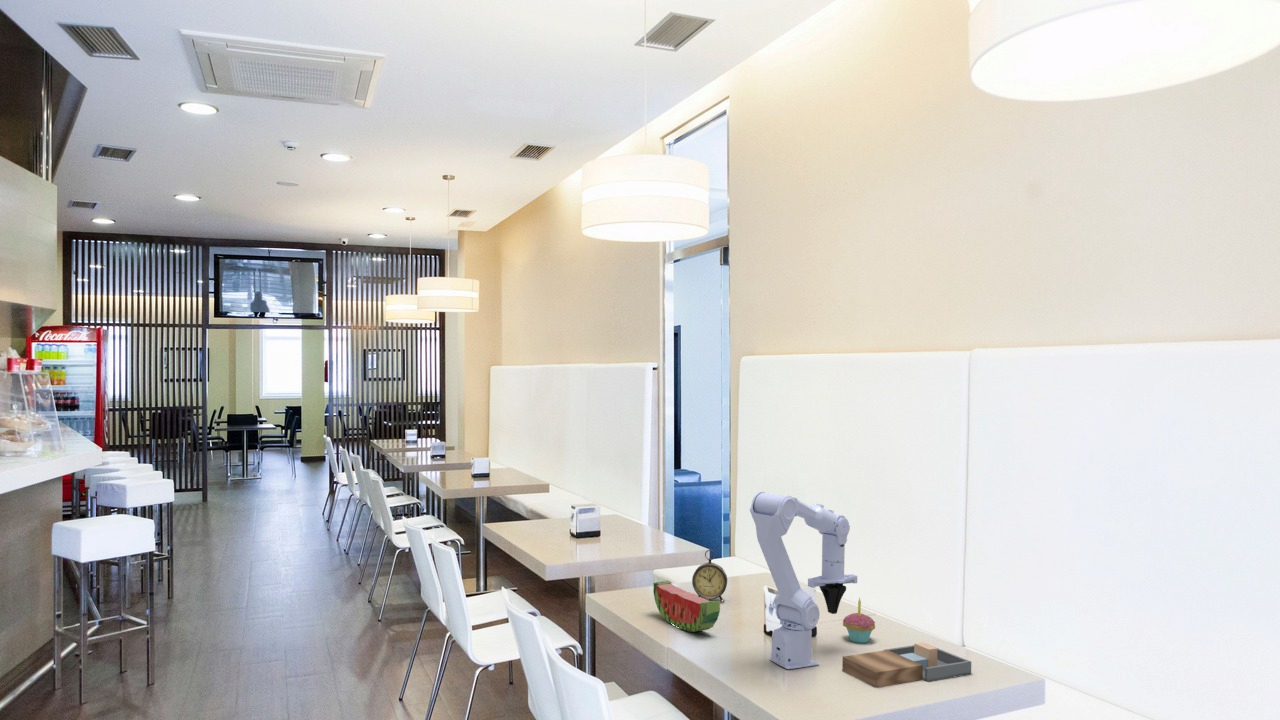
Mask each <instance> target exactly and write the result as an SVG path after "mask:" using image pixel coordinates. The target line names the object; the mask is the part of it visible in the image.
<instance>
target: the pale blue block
mask: <svg viewBox="0 0 1280 720" xmlns="http://www.w3.org/2000/svg"><path fill="white" fill-rule="evenodd" d="M901 656H903V657H905V658H908V659H910V660H912V661H914V662H917V663H919V664H921V665H923V670H925V668H926V667H928V659H927V658H924V657H922V656H919V655H917V654H914V653H908V654H902V655H901Z"/></svg>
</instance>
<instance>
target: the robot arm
mask: <svg viewBox="0 0 1280 720" xmlns="http://www.w3.org/2000/svg"><path fill="white" fill-rule="evenodd" d="M749 511H750V514H751V517H752V519H753V523H754V524H755V531H756V532H755V533H756V538H757V541H758V544H759V547H760V549H761V552H762V555H763V557H764V559H765V562H766V564H767V567H768V569H769V572H770V575H771V577H772V579H773V582H774V584H775V586H776V590H777V592H778V593H777V594H776V595H775V597H774V598H773V602H774V606H775V615H776V617H777V619H778V620H779V624H780V625H781V626H780V627H778V628H775V629H774V630H773V631H772V634H771V657H769V660H770V661H772V662H773V663H775V664H776V665H779V666H781V667H783V668H784V669H786V670H793V669H800V668H801V669H802V668H806V667H807V668H808V667H812V666H813V667H814V666H819V662H818V661H815V660H814V659H812V647H813V646H812V643H813V642H812V640H813V639H812V637H813V635H812V634H813V633H812V632H813V631H812V630H813V629H815V627H816V625H817V624H818V622H819V620H820V608H819V606H818V604H817V603H816V602H814V600H813V598H812V596H811V595H810V594H808V593H807V592H806V591H804V589H802V587H801V585H800V583H799V581H798V580H799V579H798V577H797V575H796V572H795V570H794V567H793V564H792V562H791V559H790V556H789V554H788V551H787V549H786V546H785V544H784V541H783V538H782V537H783V536H785V535H787V533H788V531H789V529H790V527H791V526H792V523H793V521H794V519H795V517H800V518H802V519H803V520H804V522H805V524H806V525H807V526H808V527H810V528H813V529H815V530H817V531H818V533H819V534H820V535H822V543H821V575H818V576H816V577H810V578H807V586H808V587H809V588H817V587H819V589H820V590H821V593H822V595H823V598H824V601H825V604H826V605H825V606H826V608H827V612H828V613H829V614H832V615H836V614H837V613H838V611H839V610H838V609H839V606H840V603H841V601H842V598H843V596H844V594H845V593H846V591H847V586H846V585H845V584H858V575H856V574H845V555H846V554H845V552H846V551H845V546H846V544H847V541H848V535H849V532H850V530H851V529H850V527H851V525H850V524H849V520H848V519H847V517H846V516H844V515H841V514H835V512H834V510H831V509H826V508H825V506H824V504H820V503H816V504H812V505H808V504H806V503H805V502H803V501H801V500H800V499H798V498H797V497H794V496H792V495H783V494H775V493H769V492H768V493H767V492H764V491H759V492H756V494H754V496H753V498H752V502H751V506H750V508H749Z"/></svg>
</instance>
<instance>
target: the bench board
mask: <svg viewBox="0 0 1280 720" xmlns="http://www.w3.org/2000/svg"><path fill="white" fill-rule="evenodd" d="M841 665H842V668H841V669H842V672H844V673H846V674H848V675H850V676H852V677H854V678H855V679H858V680H860V681H862V682H865V683H866V684H868V685H869V686H872V687H875V688H881V687H887V686H888V687H889V686H893V685H899V684H904V683H906V684H907V683H912V682H917V680H918V681H923V680H922V679H923V665H921V664H919V663H917V662H914V661H912V660H910V659H908V658H905V657H903V656H901V655H898V654H896V653H894V652H891V651H889V650H885V649H883V650H877V651H871V652H865V653H863V652H862V653H857V654H851V655H843V656H842V664H841ZM911 681H912V682H911Z"/></svg>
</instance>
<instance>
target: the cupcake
mask: <svg viewBox="0 0 1280 720" xmlns="http://www.w3.org/2000/svg"><path fill="white" fill-rule="evenodd" d="M857 603H858V604H857V612H854V613H850V614H848V615H847V616H846V615H845V617H844V618H843V620H842V626H843V627H845V629H846V630H847V633H848V636H849V639H850V640H849V641H851V642H853V643H858V644H866V643H868V642H869V640H870V637H871V634H872V632H873V630H875V629H876V621H874V619H873V618H872V617H870V616H869V615H867V614H864V613H861V609H862V607H861V606H862V605H861V604H862V601H861V597H859V598H858V601H857Z"/></svg>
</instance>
